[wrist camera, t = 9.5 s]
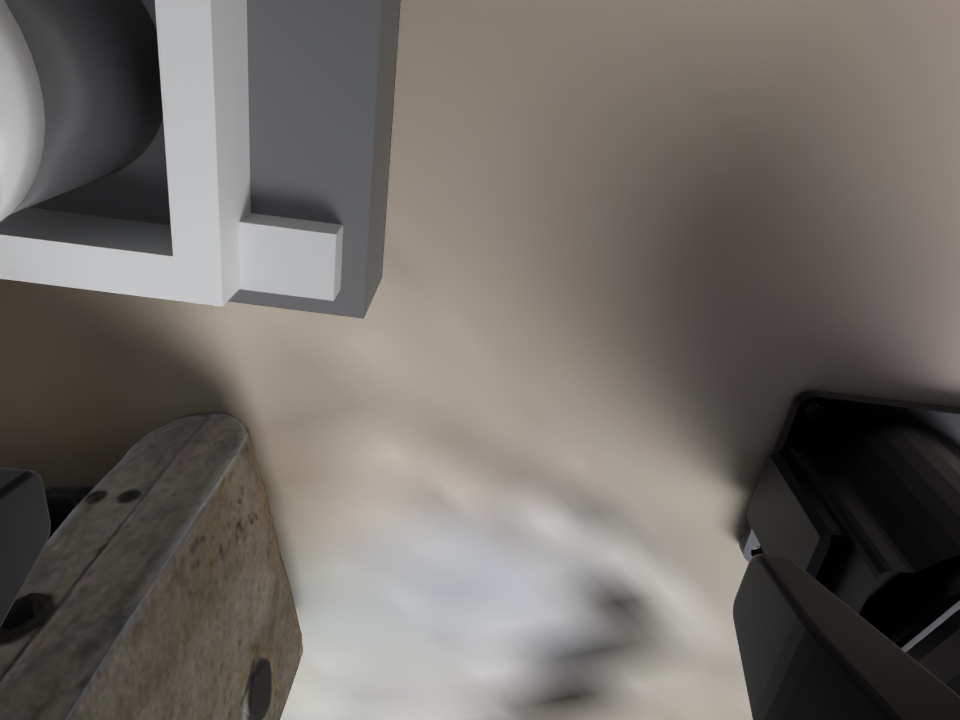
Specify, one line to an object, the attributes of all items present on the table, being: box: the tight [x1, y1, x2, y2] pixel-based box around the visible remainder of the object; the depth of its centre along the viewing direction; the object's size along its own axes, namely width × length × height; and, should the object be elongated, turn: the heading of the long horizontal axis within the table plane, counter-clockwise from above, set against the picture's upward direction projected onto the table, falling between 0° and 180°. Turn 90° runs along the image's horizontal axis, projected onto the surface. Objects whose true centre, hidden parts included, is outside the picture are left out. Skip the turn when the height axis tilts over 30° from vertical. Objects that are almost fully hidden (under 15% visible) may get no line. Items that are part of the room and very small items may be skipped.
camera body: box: [0, 0, 401, 318], centre depth 15 cm, size 14×10×5 cm
